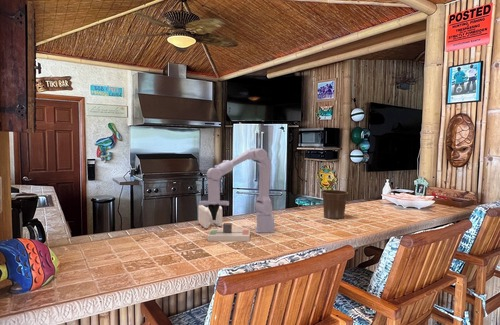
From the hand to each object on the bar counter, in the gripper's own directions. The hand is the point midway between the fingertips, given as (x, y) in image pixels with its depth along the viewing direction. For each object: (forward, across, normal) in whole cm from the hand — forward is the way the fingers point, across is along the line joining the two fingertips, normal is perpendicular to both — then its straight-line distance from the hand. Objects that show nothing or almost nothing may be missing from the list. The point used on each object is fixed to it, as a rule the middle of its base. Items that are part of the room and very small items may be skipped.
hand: (214, 219), depth 156 cm
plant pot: (+9, +70, +43) cm, 82 cm away
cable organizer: (+9, -5, +22) cm, 24 cm away
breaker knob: (+6, +6, 0) cm, 9 cm away
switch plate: (+9, +8, 0) cm, 12 cm away
